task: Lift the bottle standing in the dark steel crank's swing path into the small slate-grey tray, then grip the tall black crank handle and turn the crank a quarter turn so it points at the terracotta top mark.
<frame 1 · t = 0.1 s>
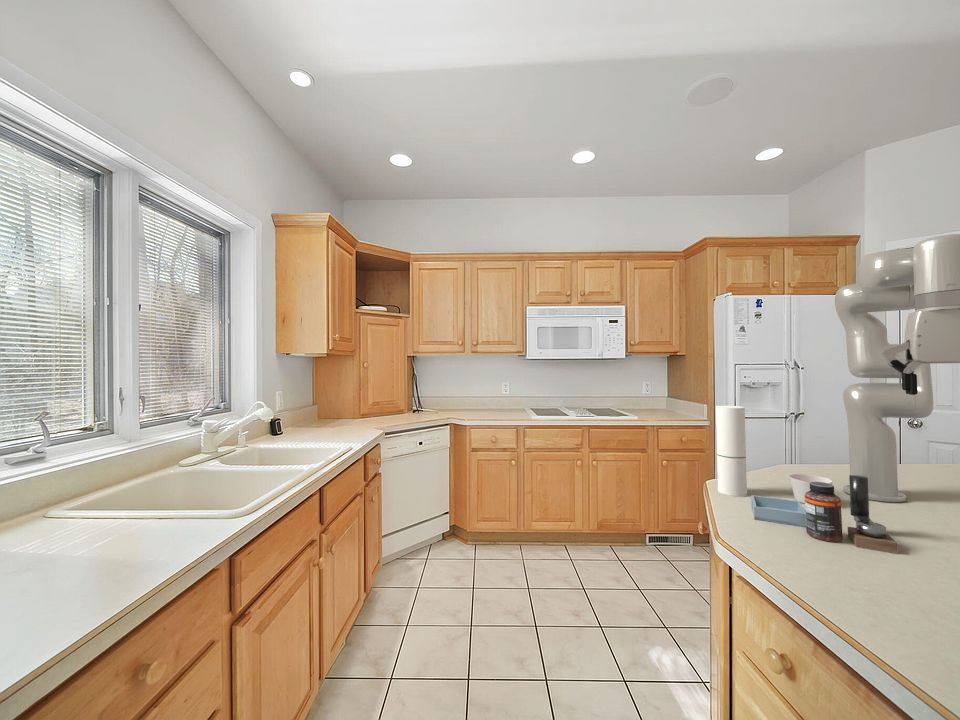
hand: (948, 394, 73), 31 cm above the counter, tool pointing down, fingers open, 9 cm apart
crank base: (871, 544, 81), on the counter
tray: (777, 516, 97), on the counter
crank: (865, 504, 84), point 7 cm above the counter, hinge at 0.0°
white bowl: (811, 502, 106), on the counter
supplement bottle: (823, 537, 85), on the counter
cylindrical container: (732, 493, 115), on the counter
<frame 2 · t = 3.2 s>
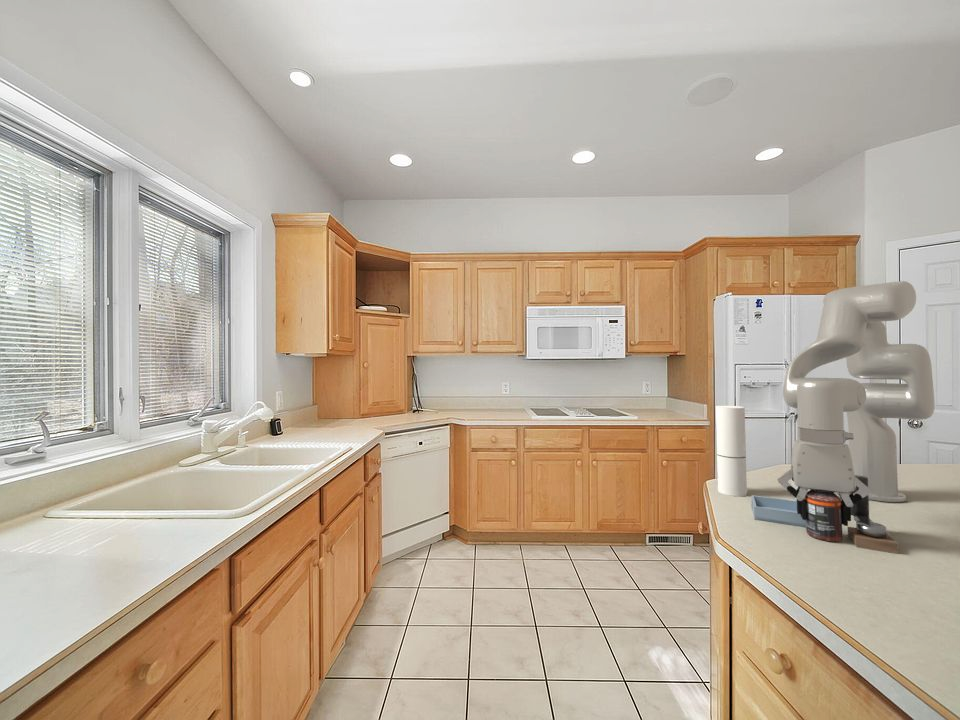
hand: (823, 519, 85), 4 cm above the counter, tool pointing down, fingers closed on supplement bottle, 6 cm apart
supplement bottle: (823, 537, 85), on the counter, touching gripper
everything else where it was.
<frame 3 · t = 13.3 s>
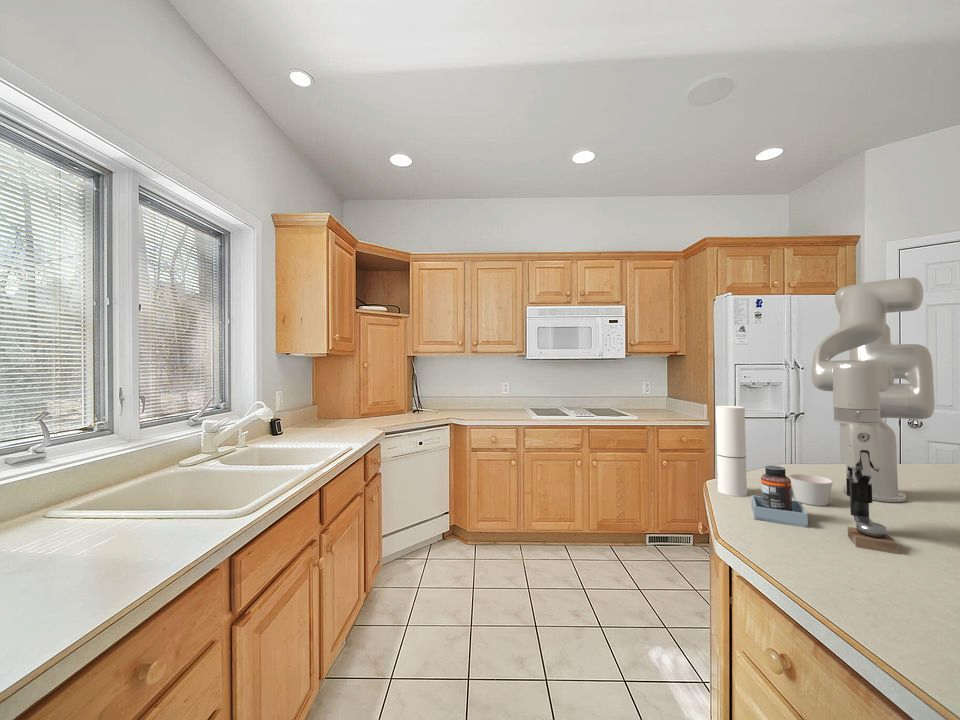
hand: (859, 498, 87), 7 cm above the counter, tool pointing down, fingers closed on crank, 3 cm apart
crank: (865, 504, 84), point 7 cm above the counter, hinge at 0.0°, touching gripper
supplement bottle: (777, 514, 97), resting on tray
everything else where it was.
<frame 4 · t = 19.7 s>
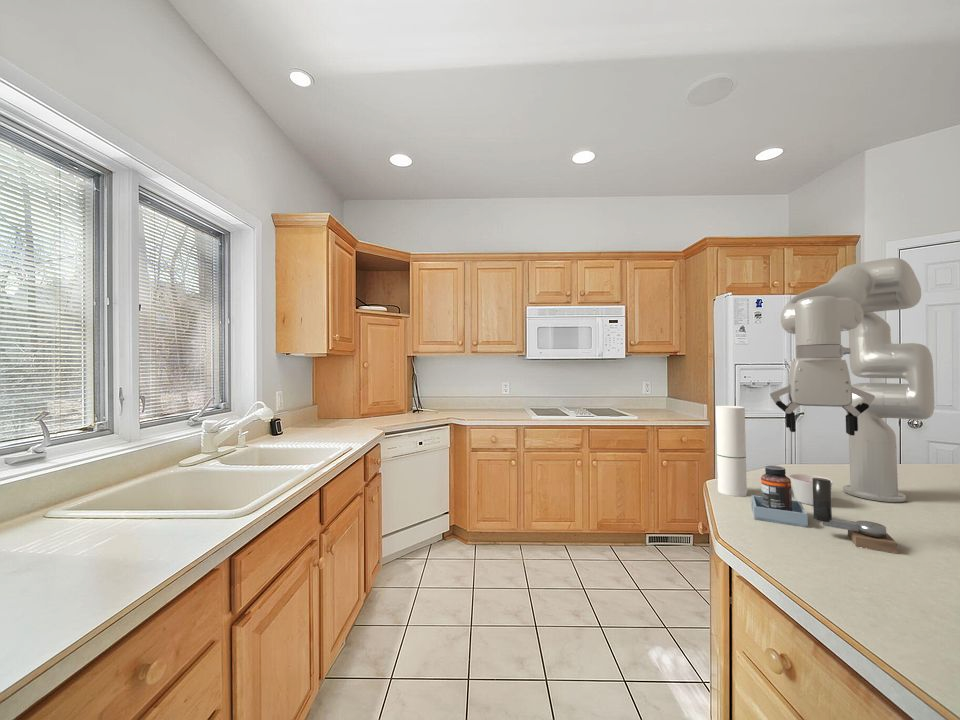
hand: (820, 432, 85), 22 cm above the counter, tool pointing down, fingers open, 9 cm apart
crank: (847, 505, 83), point 7 cm above the counter, hinge at 82.9°
everything else where it was.
at the end: supplement bottle 0.1 cm off-centre on the tray, point 0.4 cm above the tray's base; supplement bottle tilted 0°; crank at +83° (first picture: +0°) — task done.
